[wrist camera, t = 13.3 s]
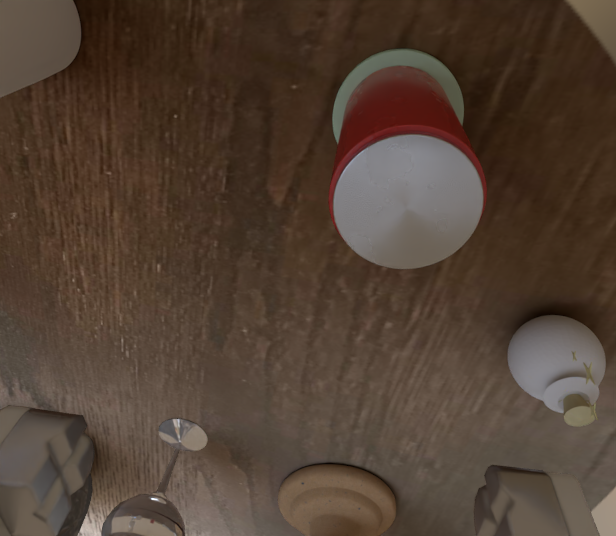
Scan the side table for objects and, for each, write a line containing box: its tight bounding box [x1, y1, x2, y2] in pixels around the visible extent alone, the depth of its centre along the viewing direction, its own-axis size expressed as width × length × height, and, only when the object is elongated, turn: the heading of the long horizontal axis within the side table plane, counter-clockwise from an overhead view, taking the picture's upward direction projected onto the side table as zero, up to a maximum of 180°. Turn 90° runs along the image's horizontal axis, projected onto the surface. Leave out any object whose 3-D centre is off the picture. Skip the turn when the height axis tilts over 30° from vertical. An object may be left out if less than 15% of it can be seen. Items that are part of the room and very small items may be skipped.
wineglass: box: [101, 419, 208, 536], centre depth 43 cm, size 7×7×12 cm
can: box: [329, 66, 487, 269], centre depth 24 cm, size 6×6×12 cm
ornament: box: [508, 315, 606, 426], centre depth 32 cm, size 6×7×10 cm
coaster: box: [332, 49, 464, 144], centre depth 29 cm, size 8×8×1 cm
